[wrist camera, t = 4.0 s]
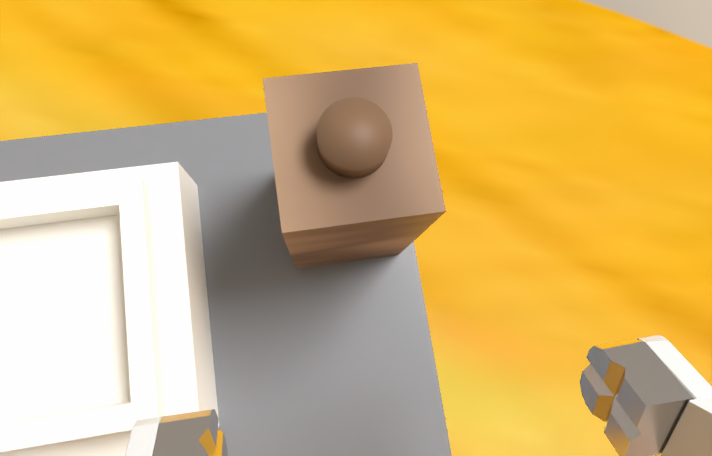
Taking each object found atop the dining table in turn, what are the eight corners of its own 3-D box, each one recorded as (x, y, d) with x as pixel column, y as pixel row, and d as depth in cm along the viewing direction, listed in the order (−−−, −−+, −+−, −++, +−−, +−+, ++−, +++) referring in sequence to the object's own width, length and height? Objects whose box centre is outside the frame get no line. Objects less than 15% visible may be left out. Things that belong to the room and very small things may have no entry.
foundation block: (-52, 472, 18) (-160, 513, 14) (-50, 214, 20) (-144, 185, 16) (219, 425, 19) (192, 452, 15) (197, 184, 21) (167, 150, 17)
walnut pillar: (295, 269, 21) (279, 227, 12) (282, 169, 22) (259, 63, 13) (398, 254, 21) (453, 203, 13) (382, 157, 22) (422, 47, 13)
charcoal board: (-62, 553, 19) (-83, 565, 18) (-57, 157, 22) (-75, 149, 21) (446, 458, 21) (453, 465, 20) (385, 109, 24) (388, 99, 23)
